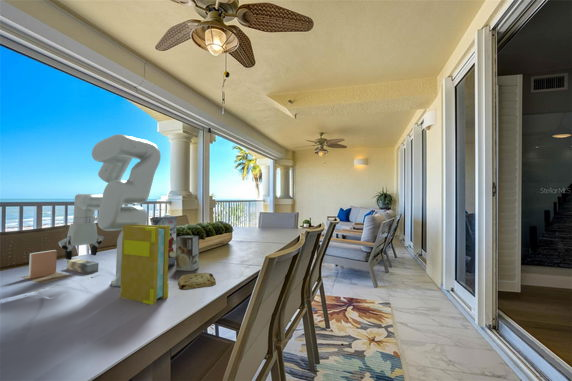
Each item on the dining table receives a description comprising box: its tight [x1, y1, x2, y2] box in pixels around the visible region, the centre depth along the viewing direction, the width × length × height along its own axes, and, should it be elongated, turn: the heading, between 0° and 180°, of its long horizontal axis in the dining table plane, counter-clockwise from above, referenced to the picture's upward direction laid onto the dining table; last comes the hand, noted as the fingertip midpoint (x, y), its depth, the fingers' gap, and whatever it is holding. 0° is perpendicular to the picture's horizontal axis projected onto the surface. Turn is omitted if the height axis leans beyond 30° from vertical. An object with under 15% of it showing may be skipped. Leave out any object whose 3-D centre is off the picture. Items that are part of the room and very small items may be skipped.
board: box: [21, 271, 73, 284], centre depth 100 cm, size 18×10×2 cm, turn 65°
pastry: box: [177, 272, 217, 290], centre depth 99 cm, size 17×17×3 cm
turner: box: [66, 258, 99, 275], centre depth 110 cm, size 18×4×5 cm, turn 65°
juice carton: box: [151, 213, 178, 268], centre depth 123 cm, size 9×10×27 cm
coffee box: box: [175, 235, 200, 272], centre depth 118 cm, size 9×6×16 cm
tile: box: [28, 249, 58, 278], centre depth 102 cm, size 2×8×10 cm, turn 155°
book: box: [119, 224, 170, 306], centre depth 84 cm, size 17×7×25 cm, turn 71°
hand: (81, 257), depth 110 cm, fingers open, 9 cm apart
